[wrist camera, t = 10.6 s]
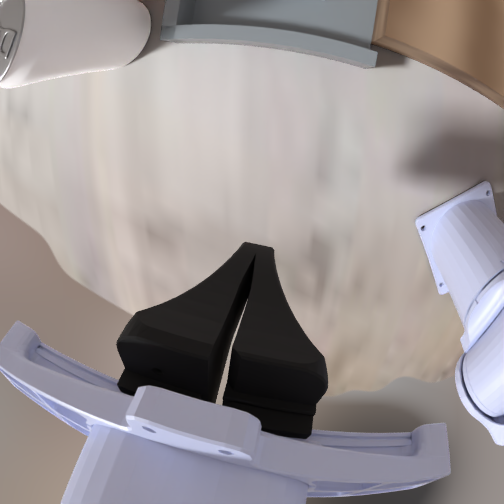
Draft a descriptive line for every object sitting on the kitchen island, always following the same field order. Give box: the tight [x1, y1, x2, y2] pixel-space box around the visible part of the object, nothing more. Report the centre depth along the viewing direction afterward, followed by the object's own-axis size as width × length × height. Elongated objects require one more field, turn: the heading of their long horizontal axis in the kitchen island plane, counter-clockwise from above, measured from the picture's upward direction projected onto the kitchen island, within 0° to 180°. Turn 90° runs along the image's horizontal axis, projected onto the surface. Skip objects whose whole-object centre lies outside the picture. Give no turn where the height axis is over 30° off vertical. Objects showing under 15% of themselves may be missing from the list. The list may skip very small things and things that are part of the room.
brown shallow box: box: [371, 0, 504, 109], centre depth 9 cm, size 13×10×4 cm
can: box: [0, 0, 151, 88], centre depth 10 cm, size 6×6×12 cm
